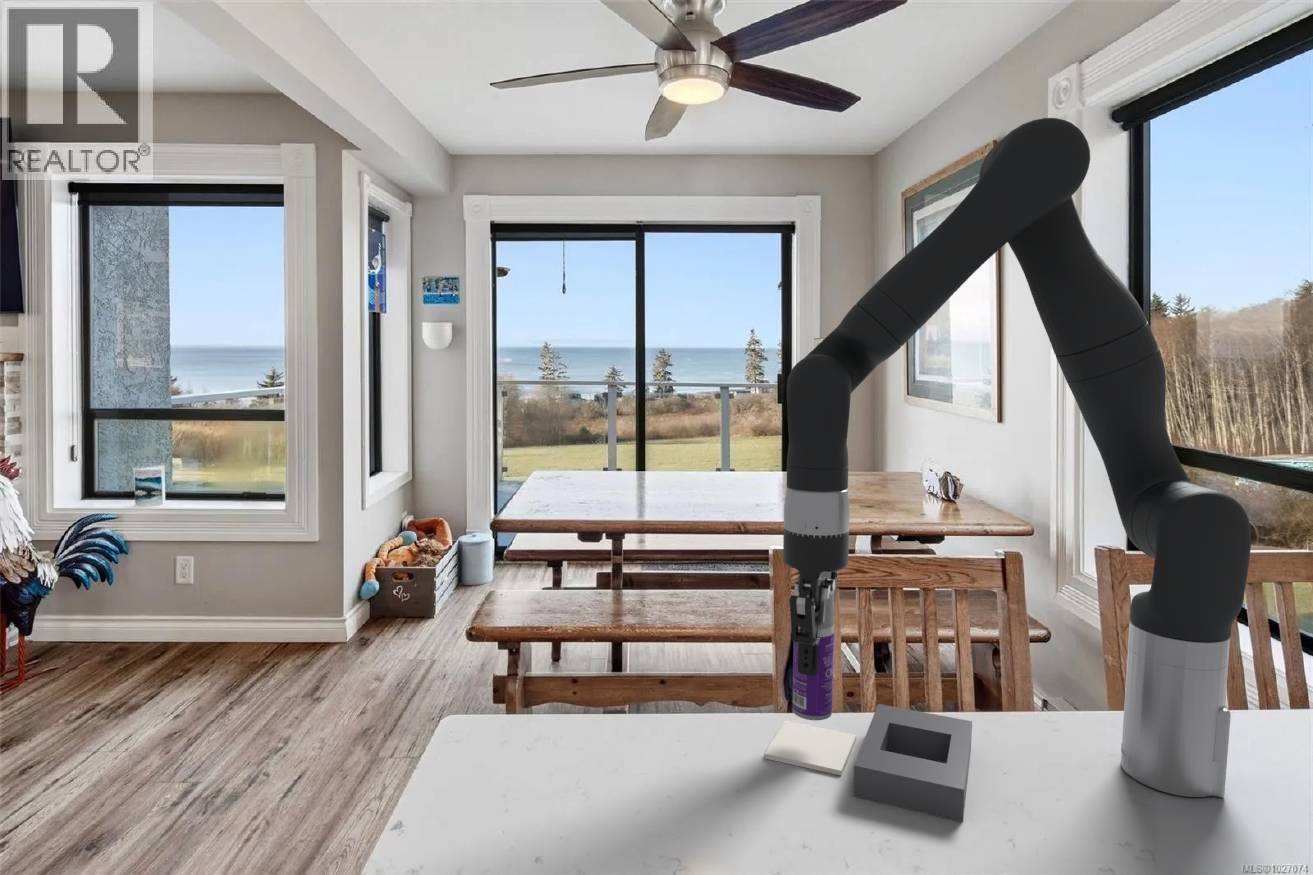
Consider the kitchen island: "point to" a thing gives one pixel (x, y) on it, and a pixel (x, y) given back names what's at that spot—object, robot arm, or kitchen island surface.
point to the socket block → (915, 762)
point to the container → (816, 690)
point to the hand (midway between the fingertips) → (813, 664)
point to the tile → (811, 747)
